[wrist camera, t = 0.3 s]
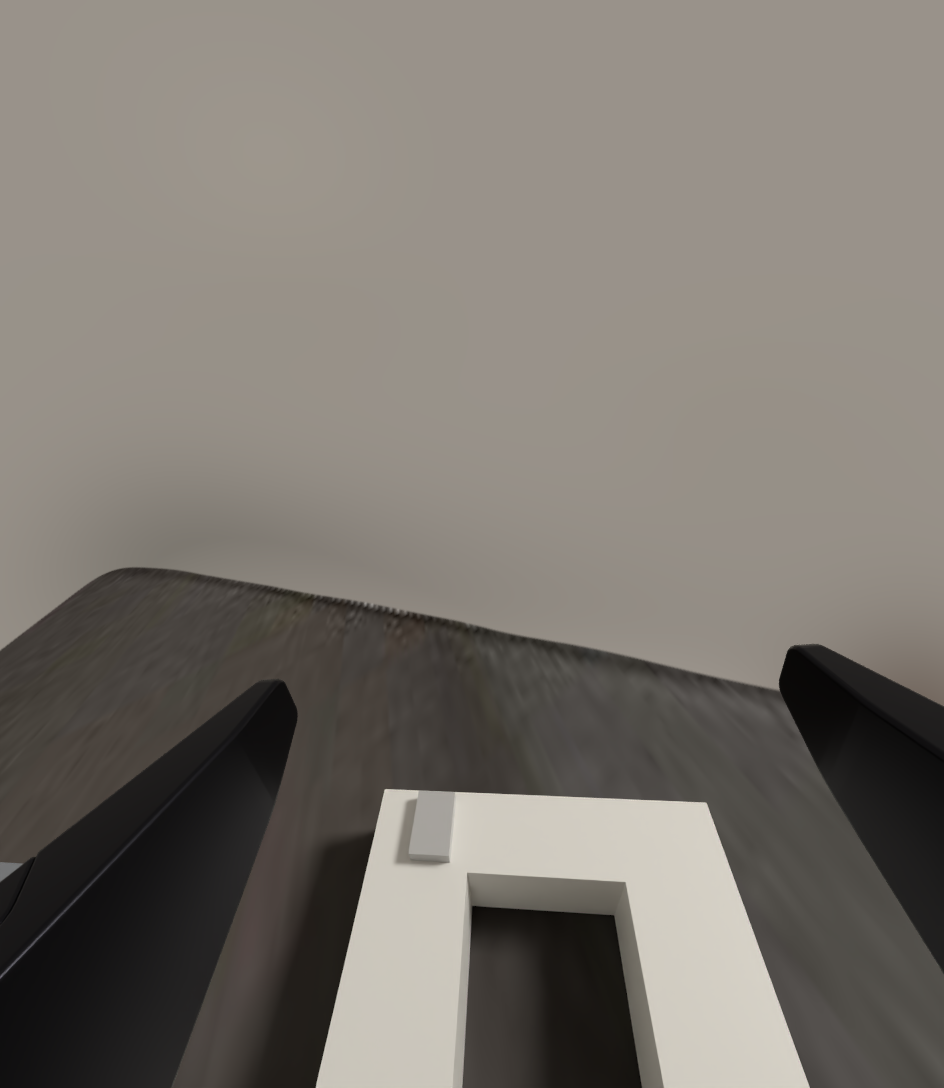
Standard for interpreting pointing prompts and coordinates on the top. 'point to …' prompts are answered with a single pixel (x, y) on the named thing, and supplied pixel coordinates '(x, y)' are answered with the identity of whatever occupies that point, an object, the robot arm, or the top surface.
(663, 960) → the socket plate
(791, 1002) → the top surface
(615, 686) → the top surface
